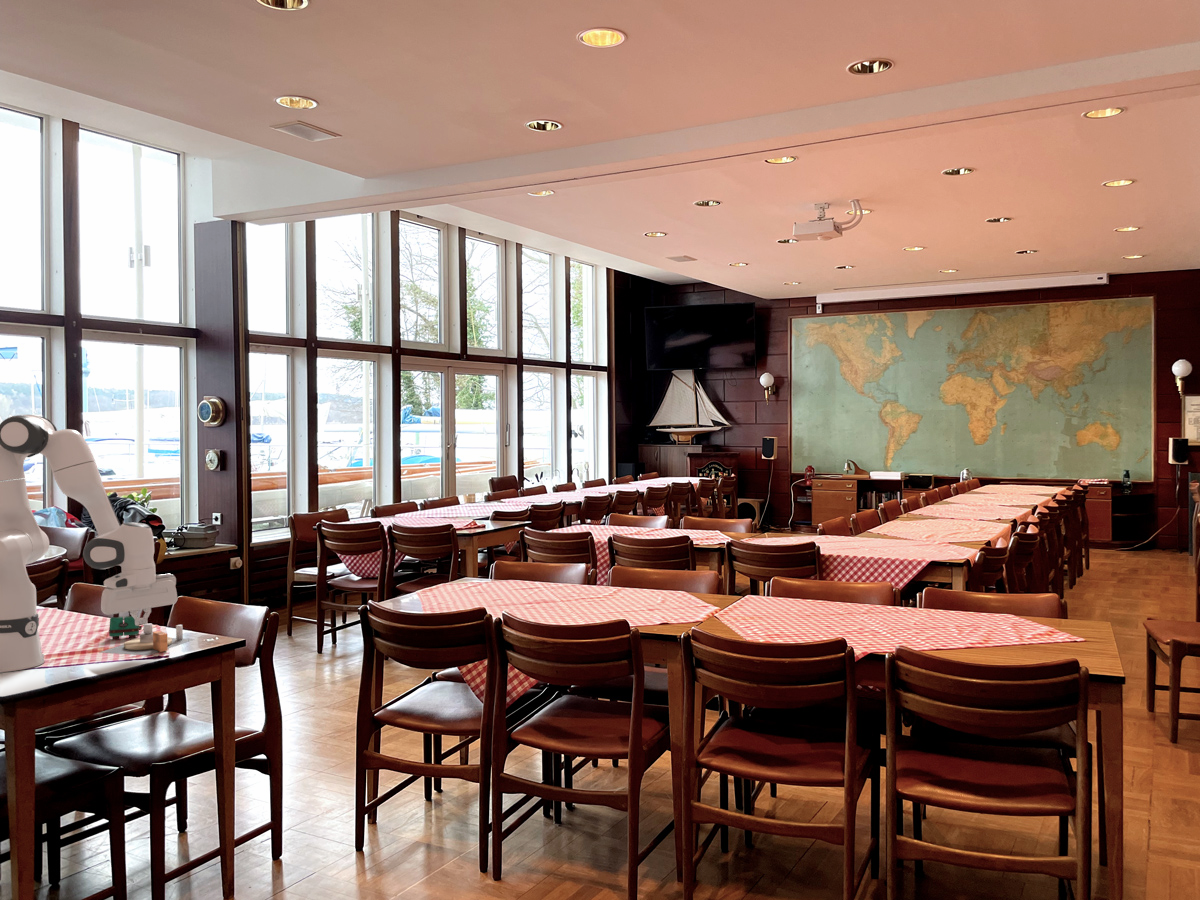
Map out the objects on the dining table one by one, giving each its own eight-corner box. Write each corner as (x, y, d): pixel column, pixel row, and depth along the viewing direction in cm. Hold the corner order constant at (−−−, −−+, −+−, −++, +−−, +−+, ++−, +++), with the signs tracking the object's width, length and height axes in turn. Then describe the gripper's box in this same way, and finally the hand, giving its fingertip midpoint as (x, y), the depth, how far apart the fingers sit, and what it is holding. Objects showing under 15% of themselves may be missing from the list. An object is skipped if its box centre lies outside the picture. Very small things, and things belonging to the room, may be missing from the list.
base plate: (99, 657, 262) (98, 630, 262) (147, 641, 282) (147, 616, 281) (148, 660, 258) (148, 633, 258) (194, 644, 278) (194, 618, 278)
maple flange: (117, 645, 270) (117, 628, 270) (161, 637, 279) (161, 621, 279) (140, 655, 257) (140, 638, 257) (186, 647, 267) (186, 630, 267)
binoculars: (142, 606, 289) (138, 609, 280) (142, 639, 288) (139, 642, 279) (111, 608, 286) (106, 611, 276) (111, 641, 285) (106, 645, 276)
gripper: (171, 571, 270) (173, 616, 270) (97, 581, 255) (100, 629, 255) (179, 573, 266) (182, 619, 266) (105, 583, 251) (108, 632, 251)
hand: (141, 624), depth 260 cm, fingers closed
